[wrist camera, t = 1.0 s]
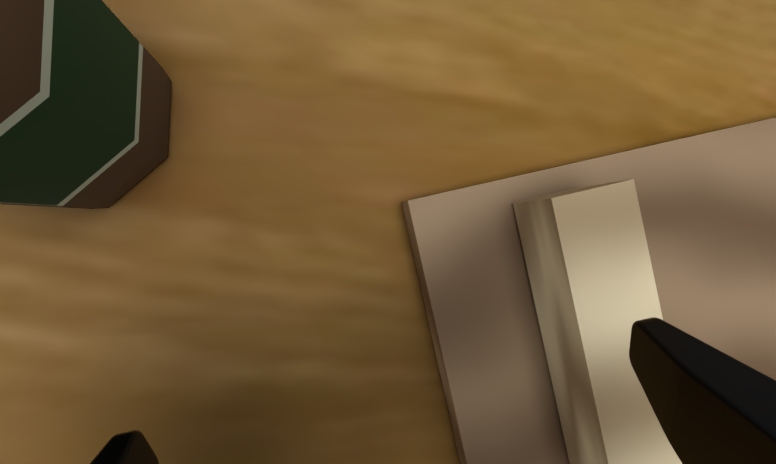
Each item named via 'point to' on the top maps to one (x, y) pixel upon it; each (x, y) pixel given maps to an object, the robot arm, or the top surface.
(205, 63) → the top surface
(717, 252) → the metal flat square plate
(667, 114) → the top surface
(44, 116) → the beer bottle
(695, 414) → the robot arm
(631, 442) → the fold-out leg
